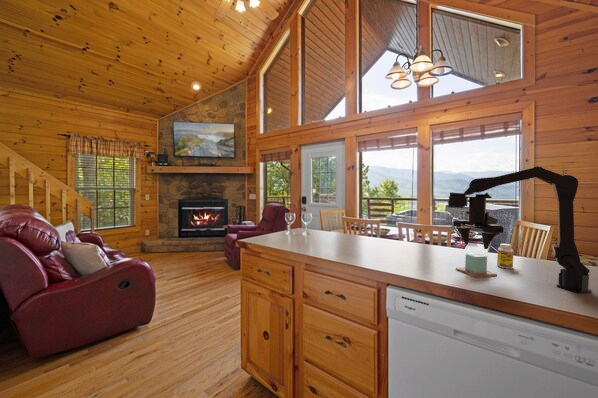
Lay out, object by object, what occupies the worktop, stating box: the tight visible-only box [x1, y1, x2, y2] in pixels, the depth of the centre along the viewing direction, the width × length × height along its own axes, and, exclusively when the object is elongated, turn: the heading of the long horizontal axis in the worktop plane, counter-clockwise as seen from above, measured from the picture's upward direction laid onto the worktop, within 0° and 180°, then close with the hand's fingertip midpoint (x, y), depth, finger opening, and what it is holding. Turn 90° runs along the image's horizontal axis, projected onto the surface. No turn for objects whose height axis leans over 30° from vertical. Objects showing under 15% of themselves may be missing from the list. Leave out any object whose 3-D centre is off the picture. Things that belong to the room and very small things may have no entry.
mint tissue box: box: [464, 252, 488, 273], centre depth 109 cm, size 5×5×7 cm
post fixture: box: [455, 266, 498, 278], centre depth 109 cm, size 10×10×6 cm
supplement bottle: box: [496, 243, 515, 269], centre depth 117 cm, size 6×6×10 cm
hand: (475, 246), depth 109 cm, fingers open, 9 cm apart
